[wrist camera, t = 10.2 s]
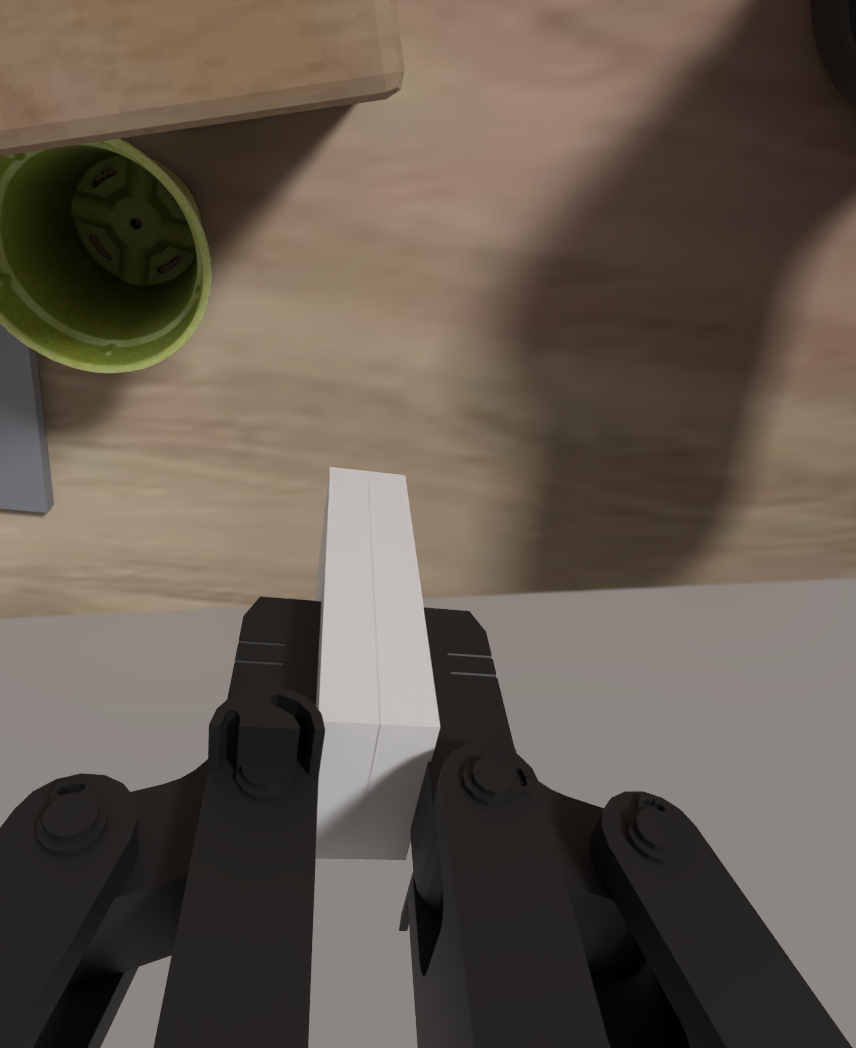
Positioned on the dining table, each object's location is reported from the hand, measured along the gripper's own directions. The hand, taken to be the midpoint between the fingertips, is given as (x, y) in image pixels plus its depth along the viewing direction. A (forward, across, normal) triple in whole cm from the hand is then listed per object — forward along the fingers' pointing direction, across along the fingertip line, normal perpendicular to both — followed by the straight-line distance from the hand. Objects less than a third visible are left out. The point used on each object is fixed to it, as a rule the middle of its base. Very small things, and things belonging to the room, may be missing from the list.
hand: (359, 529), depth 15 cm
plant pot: (+27, -10, 0) cm, 29 cm away
